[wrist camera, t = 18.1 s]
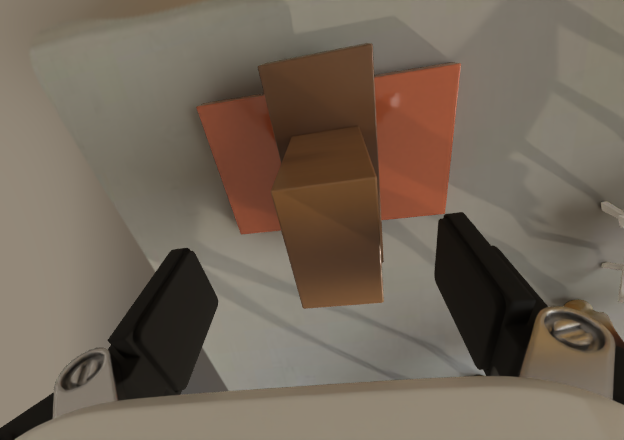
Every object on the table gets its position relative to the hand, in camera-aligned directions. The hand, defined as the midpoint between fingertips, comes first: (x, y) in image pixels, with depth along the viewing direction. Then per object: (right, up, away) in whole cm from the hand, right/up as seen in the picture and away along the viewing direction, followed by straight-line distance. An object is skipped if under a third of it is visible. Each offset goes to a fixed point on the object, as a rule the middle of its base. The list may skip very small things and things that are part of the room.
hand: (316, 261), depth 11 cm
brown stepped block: (+1, +6, +8) cm, 10 cm away
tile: (+1, +6, +10) cm, 11 cm away
